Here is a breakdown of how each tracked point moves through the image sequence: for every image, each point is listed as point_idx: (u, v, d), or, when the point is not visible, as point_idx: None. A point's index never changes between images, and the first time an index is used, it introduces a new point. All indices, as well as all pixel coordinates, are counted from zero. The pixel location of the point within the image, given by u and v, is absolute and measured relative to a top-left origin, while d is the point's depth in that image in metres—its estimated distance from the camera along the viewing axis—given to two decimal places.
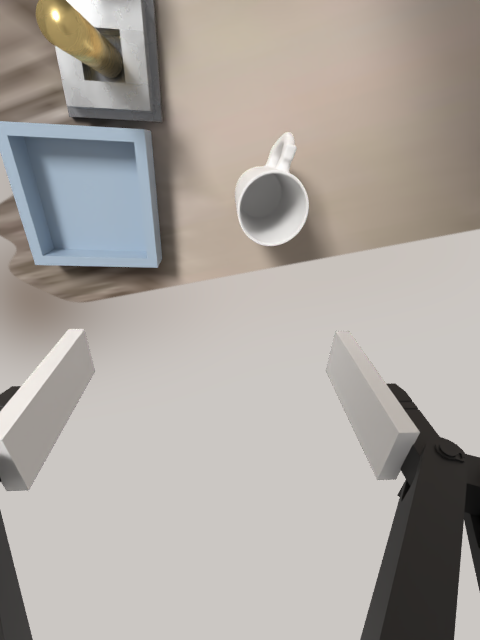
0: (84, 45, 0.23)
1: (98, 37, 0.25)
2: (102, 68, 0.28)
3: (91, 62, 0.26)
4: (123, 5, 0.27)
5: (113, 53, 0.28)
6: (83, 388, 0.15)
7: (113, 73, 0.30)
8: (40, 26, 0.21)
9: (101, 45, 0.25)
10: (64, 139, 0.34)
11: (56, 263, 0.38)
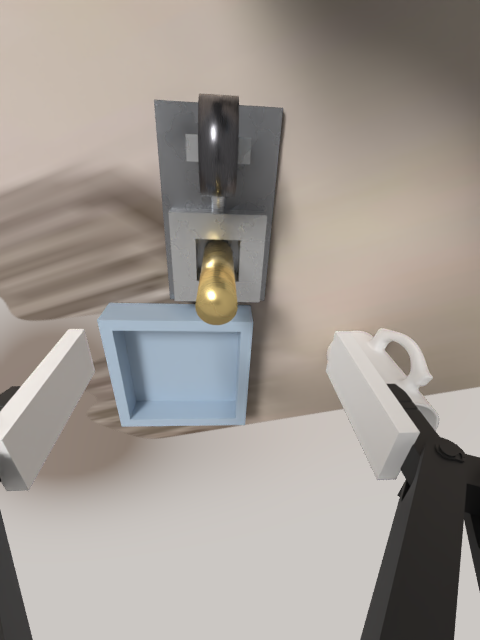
0: None
1: (234, 278, 0.23)
2: None
3: None
4: (248, 221, 0.26)
5: None
6: (83, 388, 0.15)
7: None
8: (197, 311, 0.20)
9: None
10: None
11: (143, 424, 0.37)
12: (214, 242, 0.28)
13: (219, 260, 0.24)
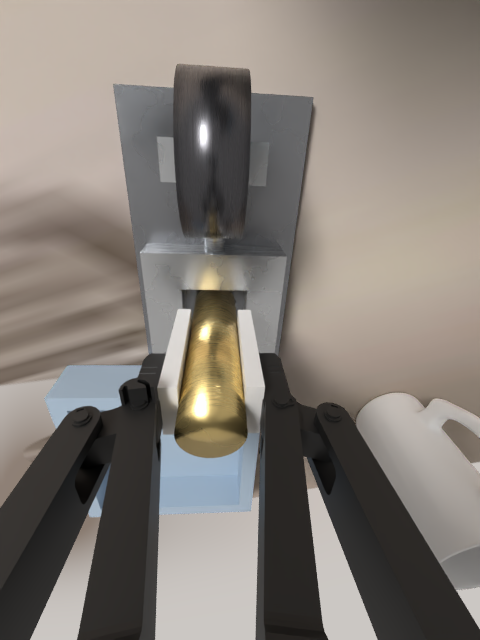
0: None
1: None
2: None
3: None
4: (259, 265, 0.18)
5: None
6: None
7: None
8: (178, 440, 0.11)
9: None
10: None
11: None
12: None
13: (216, 329, 0.15)
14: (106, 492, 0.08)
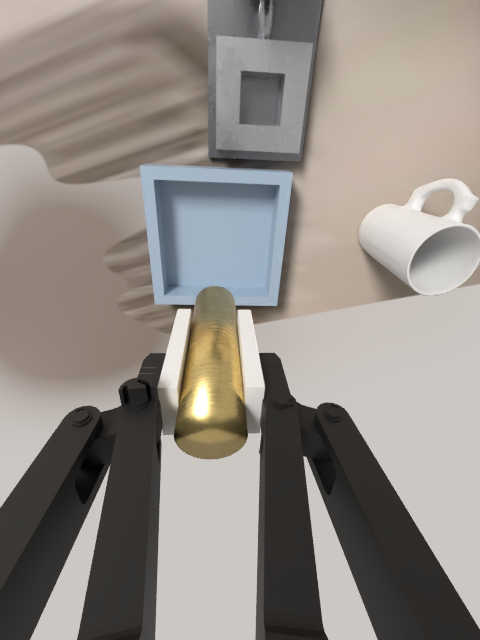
0: None
1: (240, 360, 0.15)
2: None
3: None
4: (294, 50, 0.26)
5: None
6: None
7: None
8: (178, 441, 0.11)
9: None
10: None
11: (176, 302, 0.37)
12: (210, 290, 0.20)
13: (216, 330, 0.15)
14: (106, 492, 0.08)
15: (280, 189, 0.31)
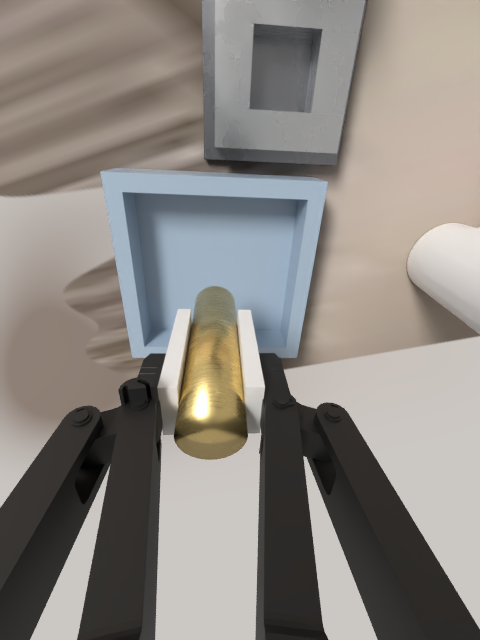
0: None
1: (240, 360, 0.15)
2: None
3: None
4: None
5: None
6: None
7: None
8: (178, 442, 0.11)
9: None
10: None
11: None
12: (210, 290, 0.20)
13: (216, 330, 0.15)
14: (106, 492, 0.08)
15: (308, 206, 0.21)
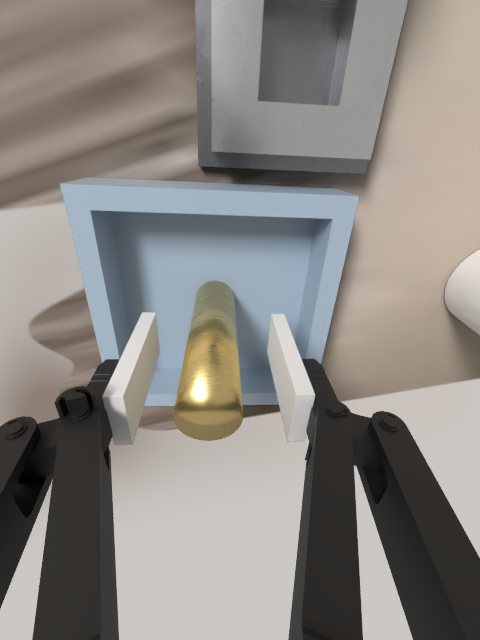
0: None
1: None
2: None
3: None
4: None
5: None
6: (155, 365, 0.17)
7: None
8: (177, 422, 0.12)
9: None
10: None
11: (147, 403, 0.22)
12: (210, 284, 0.20)
13: (215, 321, 0.16)
14: (50, 510, 0.08)
15: (332, 226, 0.16)
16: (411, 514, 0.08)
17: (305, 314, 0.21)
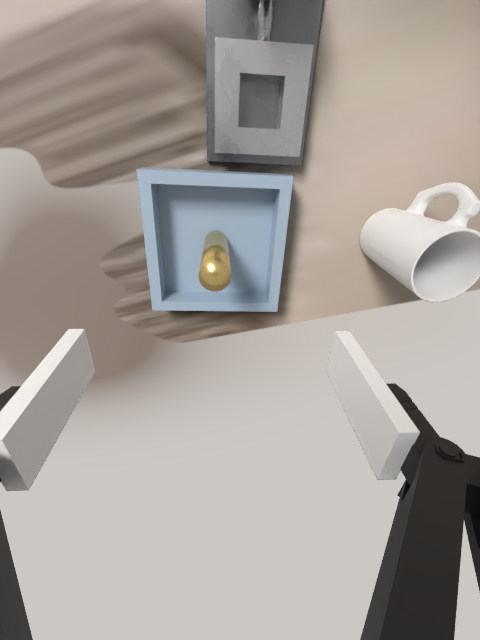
0: None
1: (229, 258, 0.29)
2: None
3: None
4: (294, 52, 0.26)
5: None
6: (83, 388, 0.15)
7: None
8: (200, 279, 0.26)
9: None
10: None
11: (174, 308, 0.36)
12: (213, 232, 0.34)
13: (217, 244, 0.30)
14: None
15: (280, 193, 0.30)
16: None
17: (271, 251, 0.35)
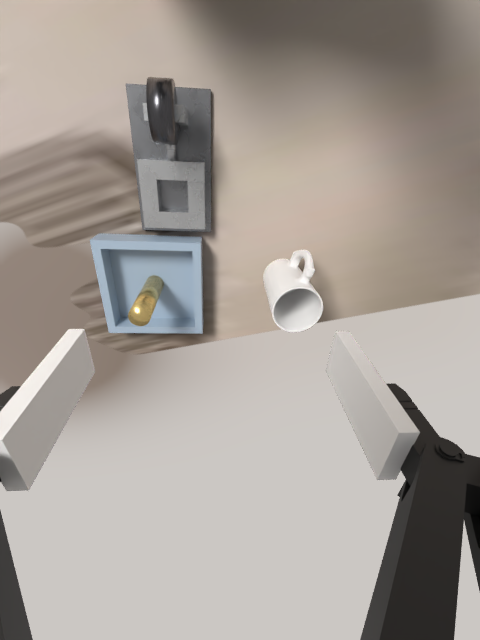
0: None
1: (155, 300, 0.42)
2: None
3: None
4: (191, 167, 0.38)
5: (160, 290, 0.46)
6: (83, 388, 0.15)
7: None
8: (129, 318, 0.39)
9: (156, 301, 0.43)
10: None
11: (125, 331, 0.49)
12: (151, 276, 0.47)
13: (147, 290, 0.42)
14: None
15: (193, 254, 0.43)
16: None
17: None
